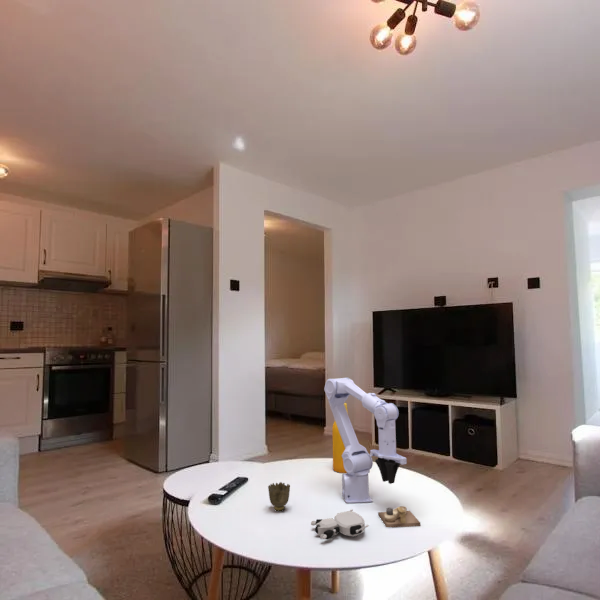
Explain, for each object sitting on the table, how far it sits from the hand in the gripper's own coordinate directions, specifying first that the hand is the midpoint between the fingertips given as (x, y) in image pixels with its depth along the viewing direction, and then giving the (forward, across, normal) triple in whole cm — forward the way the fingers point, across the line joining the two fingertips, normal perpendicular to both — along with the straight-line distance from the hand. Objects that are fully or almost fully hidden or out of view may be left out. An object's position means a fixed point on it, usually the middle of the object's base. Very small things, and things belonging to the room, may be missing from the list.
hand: (388, 482), depth 143 cm
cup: (+10, -23, -28) cm, 38 cm away
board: (+9, +7, -3) cm, 12 cm away
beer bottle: (+10, -44, +19) cm, 49 cm away
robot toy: (+10, +2, -24) cm, 26 cm away
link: (+8, +6, -4) cm, 11 cm away
